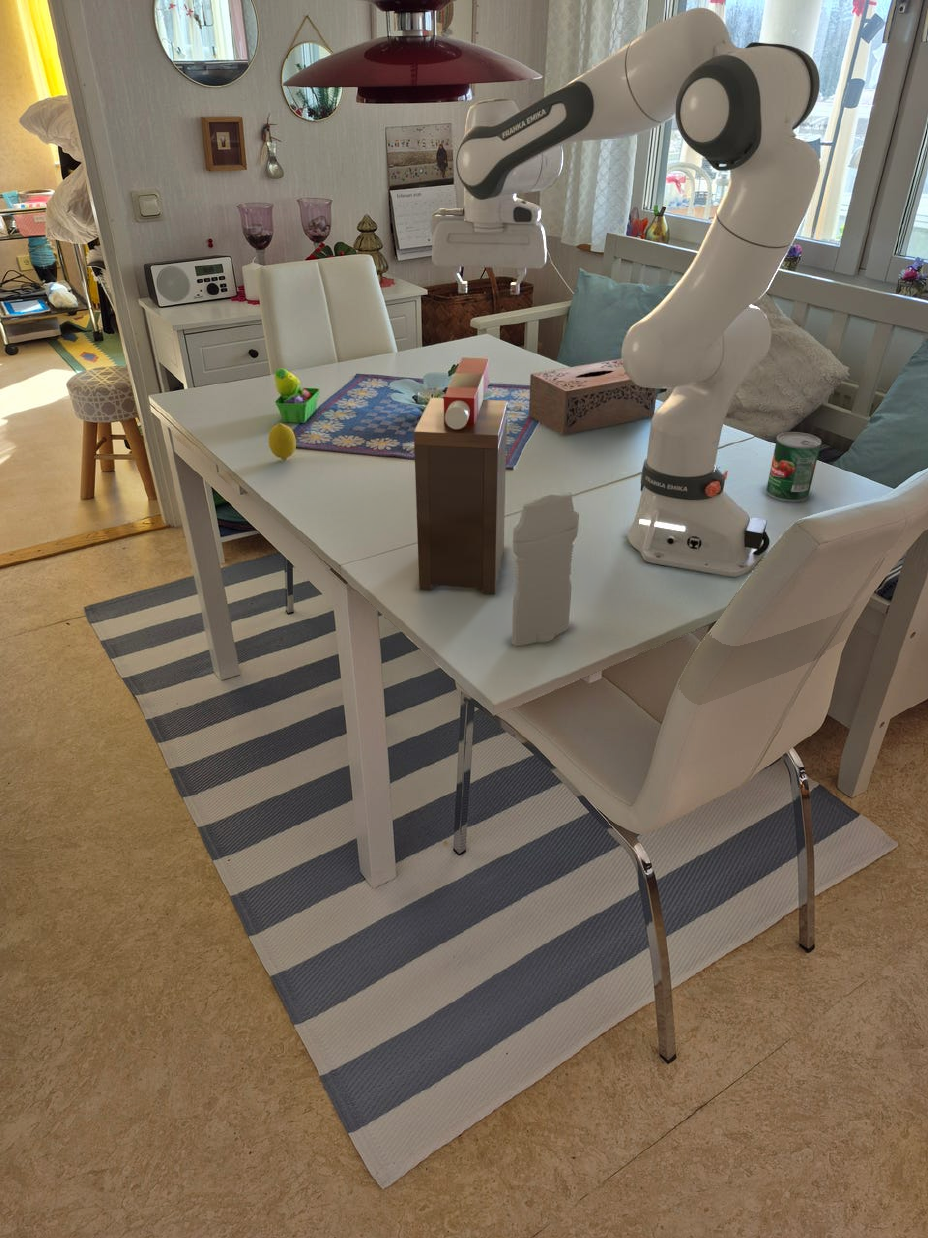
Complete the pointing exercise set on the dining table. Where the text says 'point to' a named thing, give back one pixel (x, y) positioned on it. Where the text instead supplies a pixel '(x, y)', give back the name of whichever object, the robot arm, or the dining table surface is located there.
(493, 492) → the walnut stand
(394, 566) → the dining table surface
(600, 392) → the tissue box cover
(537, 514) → the tall pale column
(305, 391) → the fruit basket
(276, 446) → the lemon
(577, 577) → the dining table surface
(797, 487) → the canned tomato
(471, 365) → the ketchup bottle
